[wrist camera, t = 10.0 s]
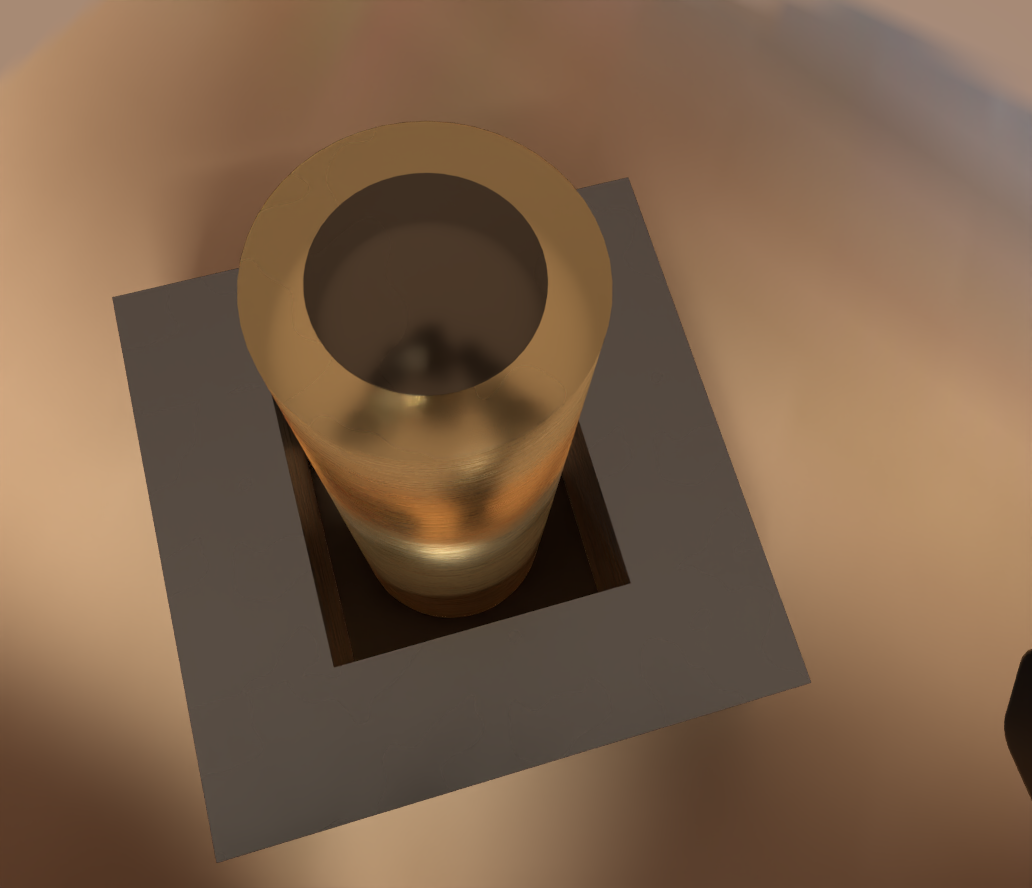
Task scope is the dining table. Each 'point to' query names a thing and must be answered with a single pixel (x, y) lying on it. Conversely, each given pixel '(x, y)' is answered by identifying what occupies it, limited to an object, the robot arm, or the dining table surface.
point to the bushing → (430, 346)
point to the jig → (460, 656)
